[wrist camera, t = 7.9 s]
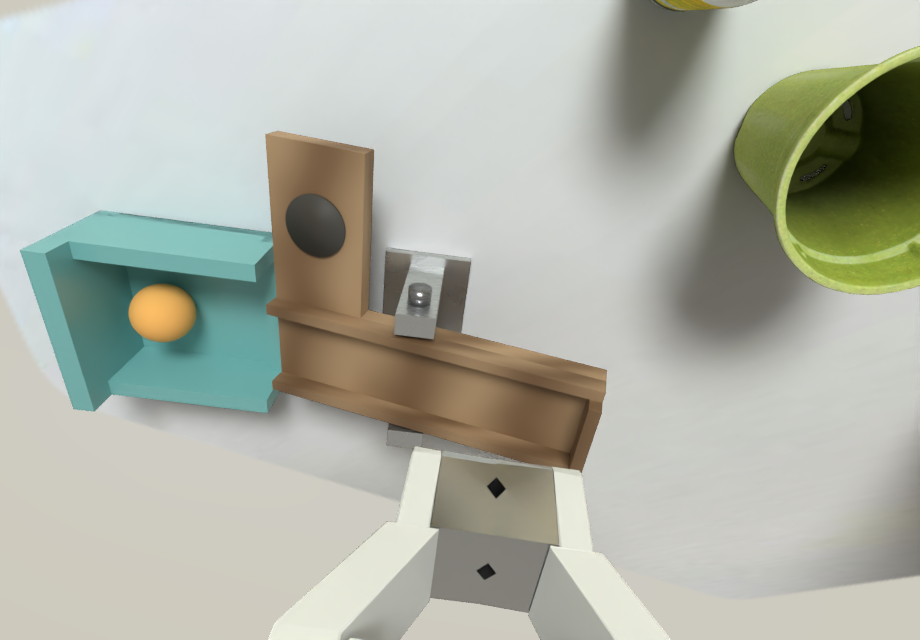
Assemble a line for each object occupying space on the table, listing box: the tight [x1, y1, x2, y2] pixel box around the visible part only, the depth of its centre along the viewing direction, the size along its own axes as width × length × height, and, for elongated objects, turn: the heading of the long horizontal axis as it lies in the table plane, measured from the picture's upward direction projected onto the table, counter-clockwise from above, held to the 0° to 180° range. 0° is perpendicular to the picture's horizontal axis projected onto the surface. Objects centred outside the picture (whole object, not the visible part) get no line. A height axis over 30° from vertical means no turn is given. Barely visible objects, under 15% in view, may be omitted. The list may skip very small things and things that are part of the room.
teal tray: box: [20, 211, 282, 413], centre depth 30 cm, size 11×10×6 cm
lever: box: [266, 131, 607, 473], centre depth 26 cm, size 18×14×3 cm
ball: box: [129, 284, 196, 342], centre depth 31 cm, size 4×4×4 cm
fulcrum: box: [383, 248, 471, 449], centre depth 30 cm, size 5×10×6 cm, turn 173°
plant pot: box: [734, 46, 920, 295], centre depth 23 cm, size 9×9×9 cm
